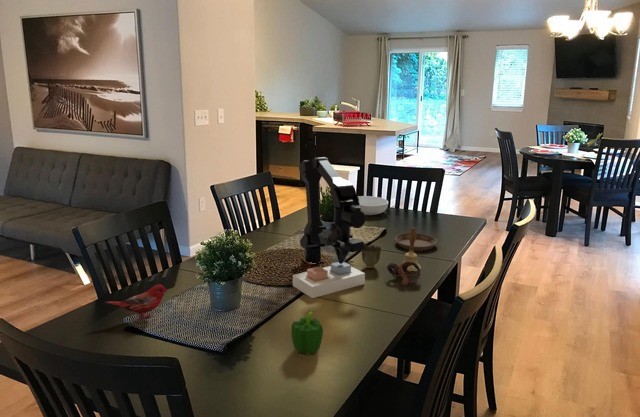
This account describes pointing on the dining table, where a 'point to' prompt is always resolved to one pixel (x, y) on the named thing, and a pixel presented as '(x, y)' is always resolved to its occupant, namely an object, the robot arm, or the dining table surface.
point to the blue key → (340, 268)
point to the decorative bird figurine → (143, 301)
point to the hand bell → (412, 251)
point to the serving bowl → (372, 205)
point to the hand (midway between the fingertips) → (340, 263)
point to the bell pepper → (307, 334)
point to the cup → (371, 256)
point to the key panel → (328, 282)
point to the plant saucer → (416, 241)
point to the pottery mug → (404, 271)
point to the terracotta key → (317, 274)
